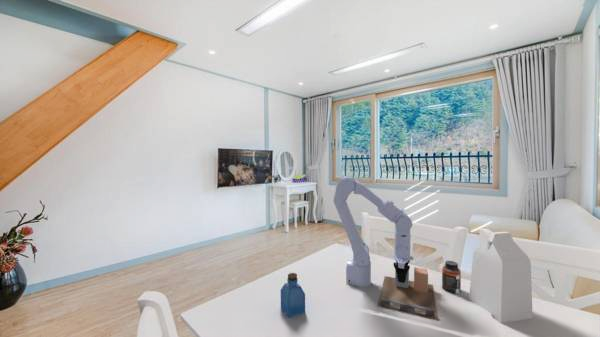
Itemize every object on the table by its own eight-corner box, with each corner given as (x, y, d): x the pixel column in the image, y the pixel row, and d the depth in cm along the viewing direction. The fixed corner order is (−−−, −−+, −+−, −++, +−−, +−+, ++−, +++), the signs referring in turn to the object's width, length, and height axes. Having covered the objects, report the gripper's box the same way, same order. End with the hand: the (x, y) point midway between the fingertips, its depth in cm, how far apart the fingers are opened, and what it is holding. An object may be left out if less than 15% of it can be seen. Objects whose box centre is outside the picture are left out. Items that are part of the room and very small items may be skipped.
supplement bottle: (463, 297, 90) (463, 266, 89) (445, 295, 91) (445, 265, 90) (456, 288, 95) (456, 259, 95) (439, 287, 97) (440, 258, 96)
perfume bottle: (288, 317, 79) (287, 281, 79) (280, 307, 85) (280, 273, 84) (305, 312, 82) (304, 276, 82) (296, 302, 88) (296, 269, 87)
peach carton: (414, 290, 93) (414, 272, 92) (414, 284, 97) (414, 267, 97) (428, 293, 91) (428, 274, 91) (427, 287, 95) (427, 269, 95)
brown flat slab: (377, 308, 83) (377, 300, 83) (384, 278, 104) (384, 271, 104) (438, 323, 76) (438, 313, 76) (432, 287, 97) (433, 279, 96)
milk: (497, 298, 89) (499, 226, 88) (532, 318, 78) (535, 236, 77) (468, 301, 87) (470, 228, 86) (500, 323, 76) (502, 239, 74)
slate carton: (395, 285, 95) (395, 267, 94) (395, 280, 99) (396, 263, 98) (408, 288, 93) (408, 270, 92) (408, 282, 97) (409, 265, 96)
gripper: (413, 252, 87) (413, 290, 87) (413, 240, 100) (413, 273, 101) (392, 249, 90) (391, 286, 90) (395, 238, 103) (394, 269, 103)
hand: (401, 279), depth 96 cm, fingers closed on slate carton, 4 cm apart
